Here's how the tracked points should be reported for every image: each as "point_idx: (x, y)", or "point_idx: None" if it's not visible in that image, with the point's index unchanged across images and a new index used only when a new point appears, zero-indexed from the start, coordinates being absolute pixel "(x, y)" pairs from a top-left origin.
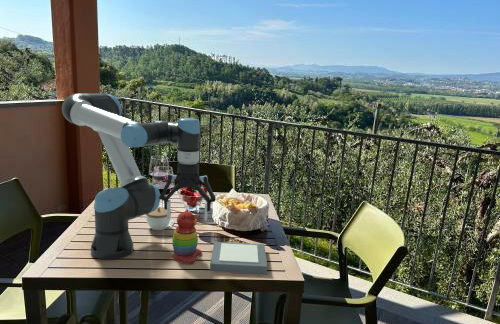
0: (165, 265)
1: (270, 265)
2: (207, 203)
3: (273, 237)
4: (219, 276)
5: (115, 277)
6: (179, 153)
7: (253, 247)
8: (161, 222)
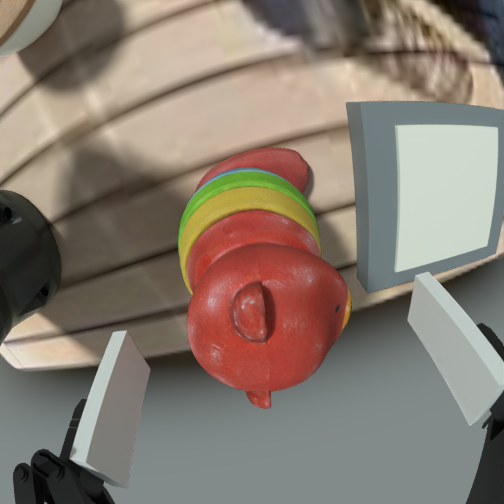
0: None
1: None
2: (483, 427)
3: (494, 11)
4: (383, 291)
5: None
6: None
7: (490, 148)
8: (32, 30)
